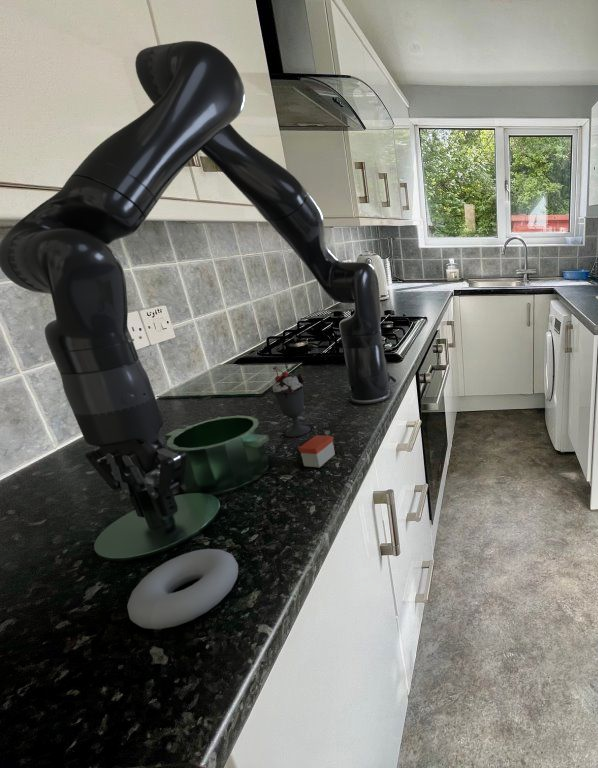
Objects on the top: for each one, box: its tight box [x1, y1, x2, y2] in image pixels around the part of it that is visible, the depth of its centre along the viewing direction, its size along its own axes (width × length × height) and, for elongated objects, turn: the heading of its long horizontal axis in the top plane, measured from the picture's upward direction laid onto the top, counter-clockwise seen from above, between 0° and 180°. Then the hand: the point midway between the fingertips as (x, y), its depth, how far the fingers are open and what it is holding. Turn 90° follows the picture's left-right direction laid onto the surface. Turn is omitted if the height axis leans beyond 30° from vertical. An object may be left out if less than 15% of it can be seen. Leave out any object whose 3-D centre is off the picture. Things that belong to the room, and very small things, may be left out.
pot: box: [164, 415, 270, 497], centre depth 70 cm, size 13×18×8 cm
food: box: [298, 434, 336, 468], centre depth 75 cm, size 5×3×4 cm
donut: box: [126, 548, 239, 630], centre depth 46 cm, size 10×4×10 cm
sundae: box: [269, 366, 312, 438], centre depth 84 cm, size 7×7×15 cm
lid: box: [93, 479, 221, 562], centre depth 56 cm, size 14×14×7 cm
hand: (158, 514), depth 57 cm, fingers closed on lid, 3 cm apart
